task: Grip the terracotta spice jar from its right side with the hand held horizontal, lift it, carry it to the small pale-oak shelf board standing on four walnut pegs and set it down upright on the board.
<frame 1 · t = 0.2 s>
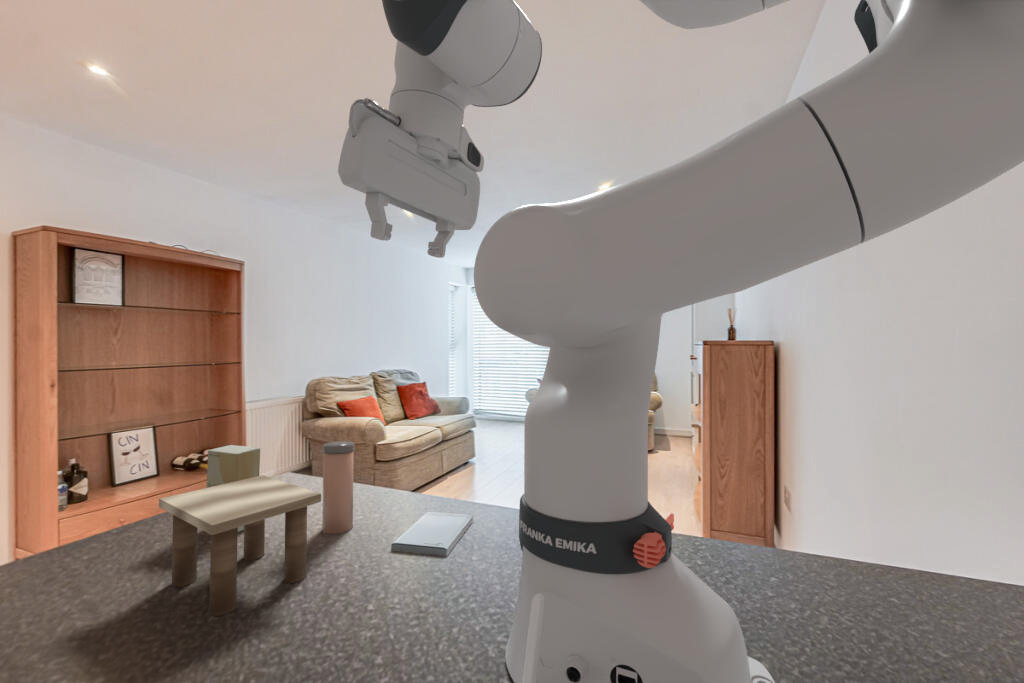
hand: (410, 248, 54), 40 cm above the countertop, tool pointing down, fingers open, 8 cm apart
spice jar: (337, 528, 69), on the countertop
skincare box: (232, 528, 69), on the countertop
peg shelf: (240, 579, 54), on the countertop
hard drive: (435, 539, 67), on the countertop
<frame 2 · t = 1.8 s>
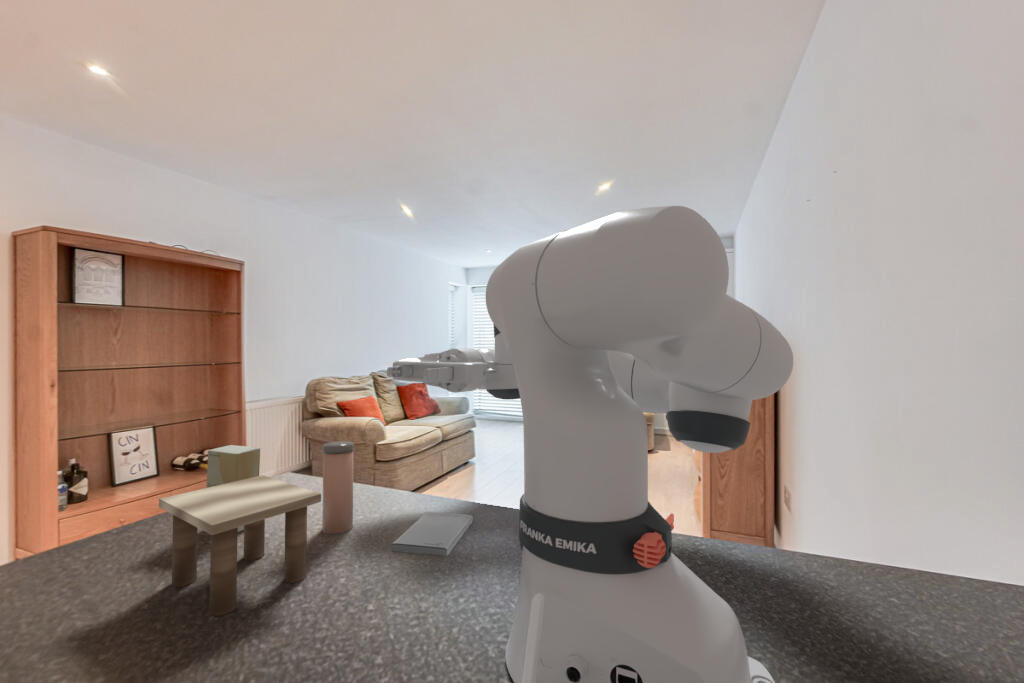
hand: (407, 373, 79), 24 cm above the countertop, tool horizontal, fingers open, 8 cm apart
nothing on the countertop moved.
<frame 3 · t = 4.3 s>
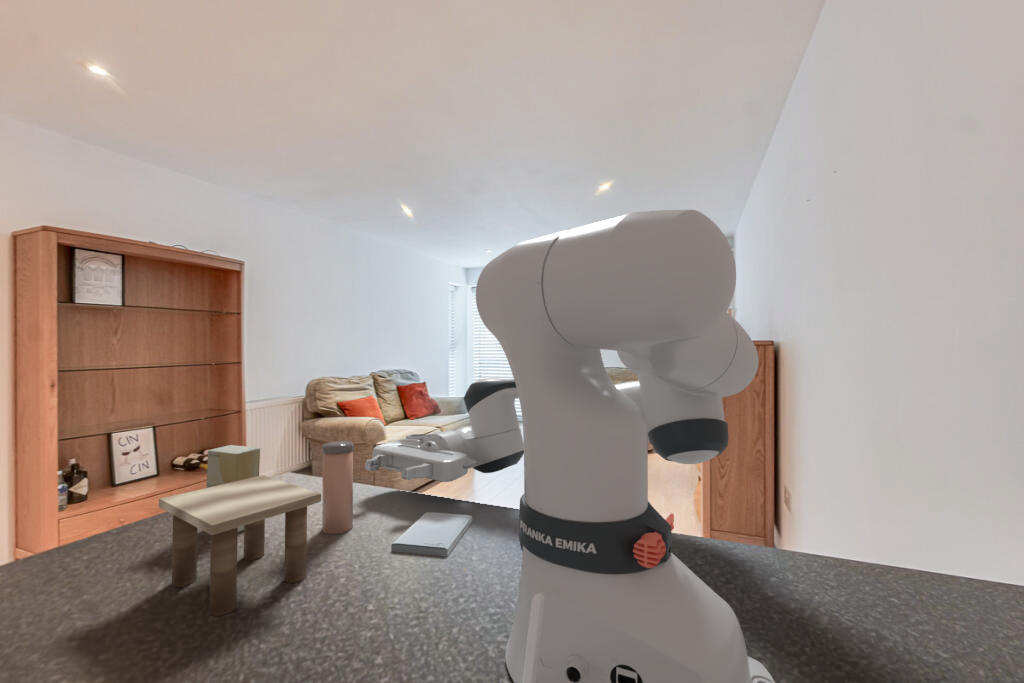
hand: (385, 470, 77), 7 cm above the countertop, tool horizontal, fingers open, 8 cm apart
nothing on the countertop moved.
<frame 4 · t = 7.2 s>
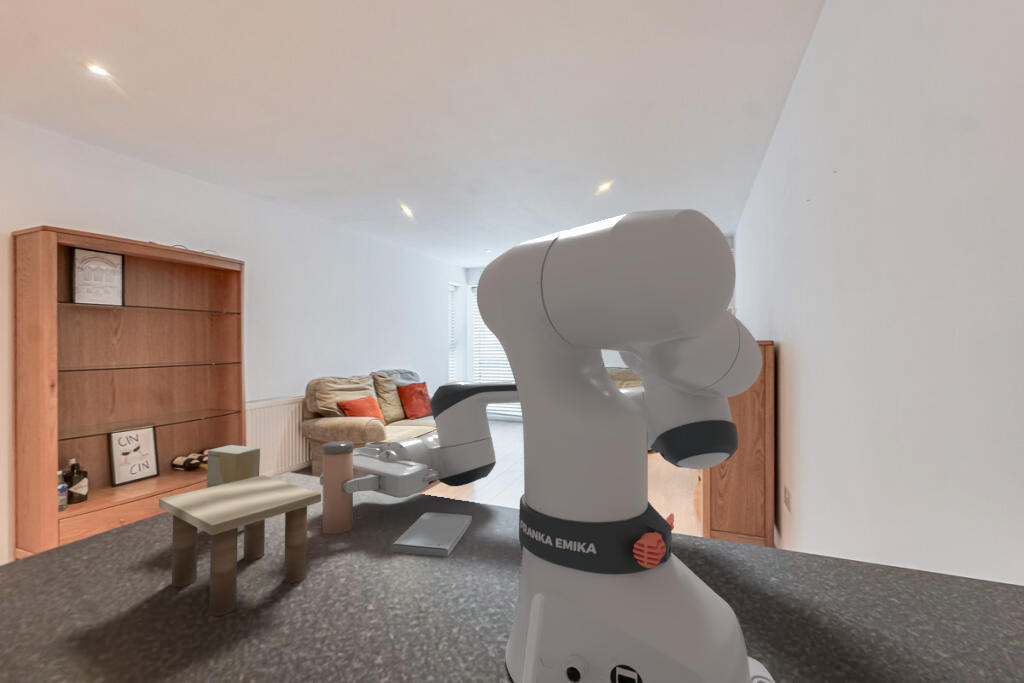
hand: (333, 484, 68), 7 cm above the countertop, tool horizontal, fingers closed on spice jar, 4 cm apart
spice jar: (337, 528, 69), on the countertop, touching gripper
everything else where it was.
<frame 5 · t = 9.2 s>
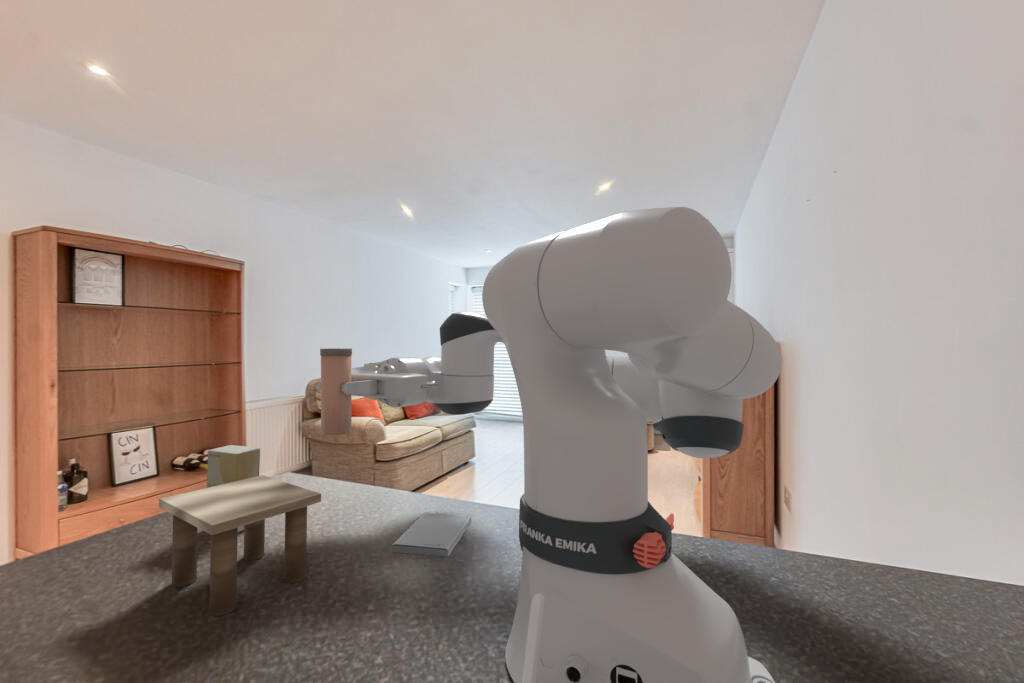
hand: (331, 387, 68), 22 cm above the countertop, tool horizontal, fingers closed on spice jar, 4 cm apart
spice jar: (336, 432, 69), point 15 cm above the countertop, touching gripper
everything else where it was.
when the fingers open (18 cm above the countertop, at t = 11.5 s): spice jar stays where it is, resting on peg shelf.
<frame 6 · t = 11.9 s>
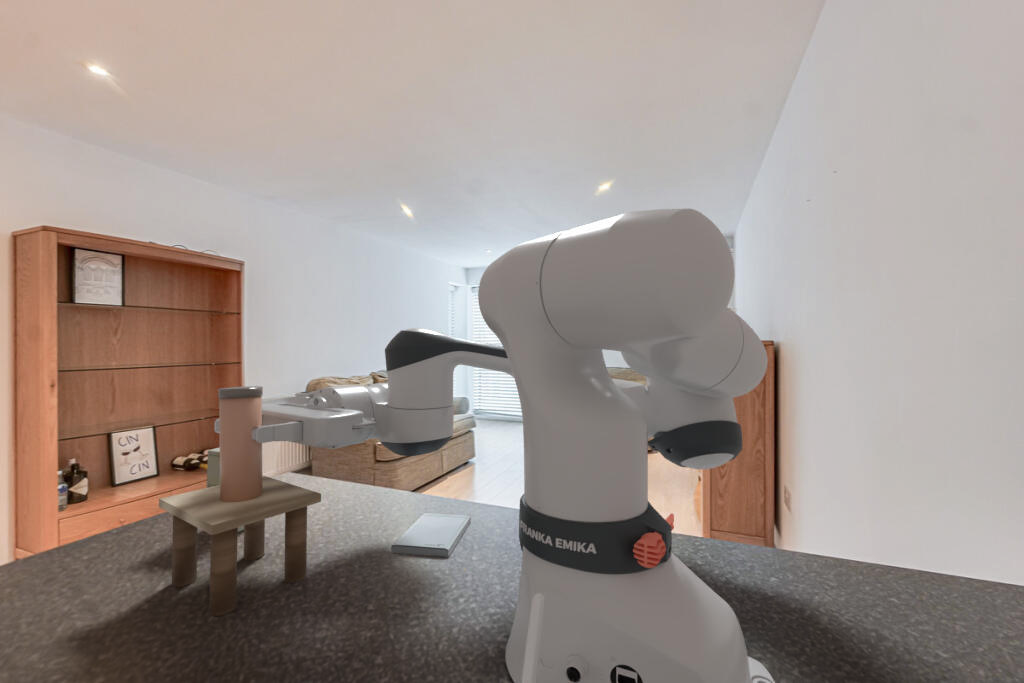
hand: (234, 430, 53), 18 cm above the countertop, tool horizontal, fingers open, 8 cm apart
spice jar: (241, 495, 54), point 10 cm above the countertop, touching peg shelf
everything else where it was.
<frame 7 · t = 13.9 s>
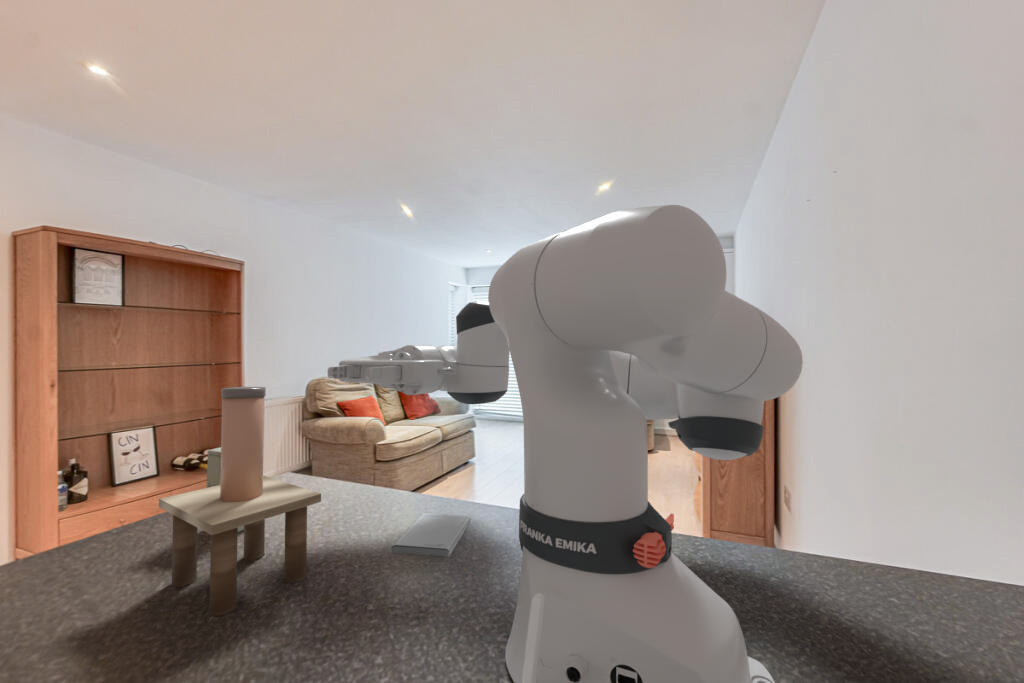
hand: (348, 373, 68), 24 cm above the countertop, tool horizontal, fingers open, 8 cm apart
nothing on the countertop moved.
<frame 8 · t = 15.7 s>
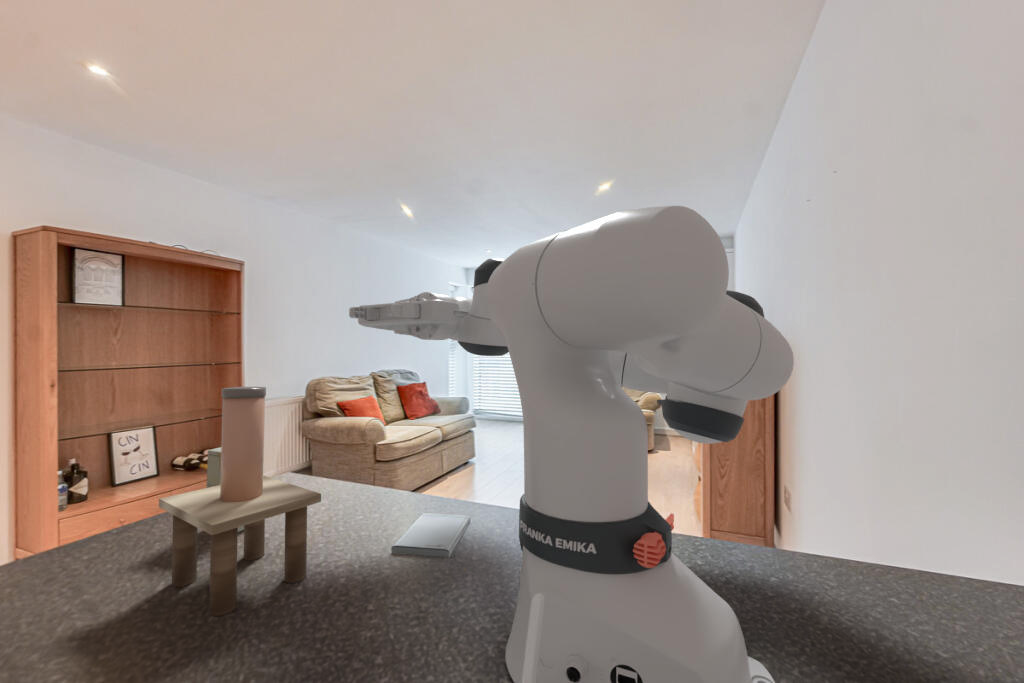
hand: (370, 311, 72), 34 cm above the countertop, tool horizontal, fingers open, 8 cm apart
nothing on the countertop moved.
at the end: spice jar inside the target area on the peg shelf (0.0 cm from its centre), point 10.0 cm above the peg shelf's base; spice jar tilted 0°; the gripper is holding nothing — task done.
